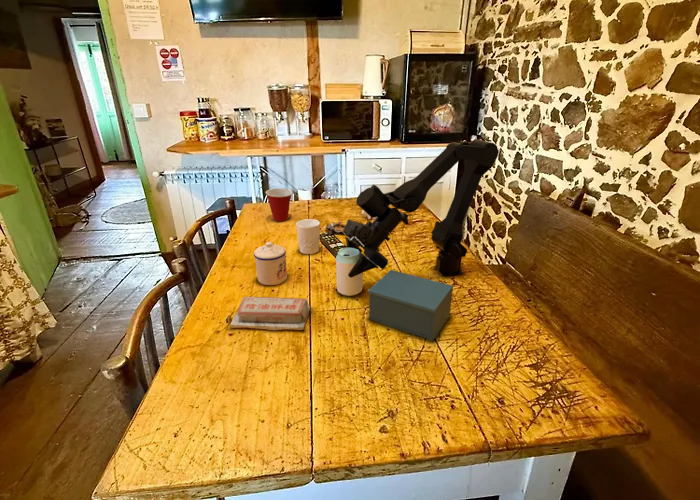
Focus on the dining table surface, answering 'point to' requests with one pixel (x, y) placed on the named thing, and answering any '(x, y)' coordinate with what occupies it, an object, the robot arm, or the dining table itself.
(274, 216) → the plastic cup
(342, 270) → the can
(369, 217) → the elephant figurine
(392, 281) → the lid
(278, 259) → the teacup with lid
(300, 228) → the white cup
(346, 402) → the dining table surface
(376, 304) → the box
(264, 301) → the packaged product
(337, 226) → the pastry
